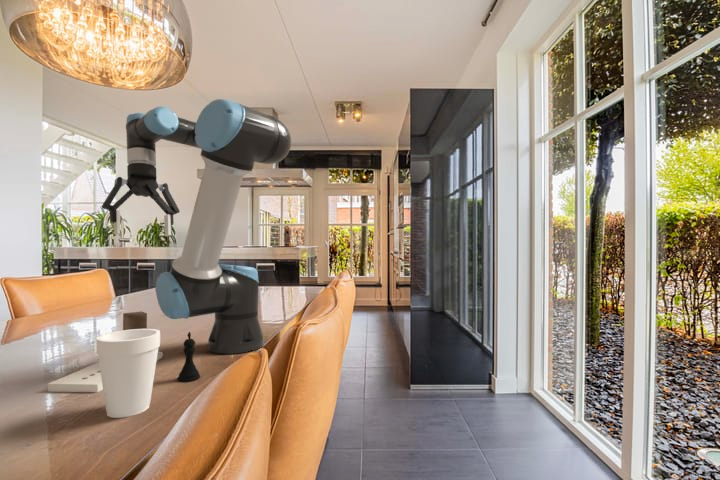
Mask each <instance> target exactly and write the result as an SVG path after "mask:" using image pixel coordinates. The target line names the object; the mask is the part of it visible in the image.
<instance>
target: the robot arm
mask: <svg viewBox="0 0 720 480" xmlns="http://www.w3.org/2000/svg"><path fill="white" fill-rule="evenodd" d="M125 123H126V124H125V131H126V133H125V134H126V156H127V157H126V158H127V159H126V160H127V161H126V162H127V164H128V165H127V166H126V167H127V171H126V172H127V179H124V178H123V177H121V176H118V177H117V178H115V179H114V185H113V188H112V189H111V191H110V192H109V193H108V196H107V197H106V199H105V200H104V202H103V203H102V204H101V208H102V209H103V210H107V211H108V212H109V221H110V223H113V235H117V236H119V235H120V234H121V210H117V209H118V208H119V207H121V206H122V205H123V204H124V203H125V202H126V201H127V200H128V199H129V198H130V197H132V195H135V196H136V197H137V196H138V197H144V198H147V197H150V198H151V199H152V200H153V201H154V202H155V203H156V204H157V205H158V206H159V208H160V209H161V210H162V211H163V212H164V213H165V215H164V217H163V219H164V220H163V222H164V225H163V226H164V236H165V237H170V236H172V226H173V225H174V224H175V223H174V215H177V214H179V213H180V209H179V207H178V205H177V204H176V201H175V200H174V197H173V196H172V194H171V192H170V190H169V185H168V183H167V182H165V183H158V182H157V167H156V166H157V155H156V153H157V151H156V143H158V142H159V141H161V140H164V141H167V142H168V141H169V142H172V143H177V144H181V145H184V146H185V145H186V146H190V147H194V148H197V149H200V150H201V151H200V157H201V159H202V161H203V162H204V164H205V165H204V169H203V172H202V176H201V180H200V185H199V187H198V192H197V195H196V199H195V203H194V207H193V210H192V215H191V218H190V222H189V225H188V230H187V232H186V233H187V234H186V237H185V241H184V244H183V248H182V253H181V256H179V257H178V258H175V259H174V260H173V261H172V263H171V267H170V271H164V272H161V273H160V274H159V275H158V277H157V279H156V283H155V294H156V295H155V296H156V300H157V302H158V303H157V304H158V306H159V308H160V311H162V313H163V314H164V316H165V317H167V318H169V319H170V320H179V319H185V320H186V319H188V318H189V319H190V318H193V317H200V316H206V315H210V314H211V315H212V314H214V321H213V325H212V328H211V331H210V334H209V337H208V340H207V351H208V352H210V353H213V354H214V353H215V354H224V355H225V354H226V355H227V354H228V355H231V354H240V353H247V352H248V351H249V352H253V351H256V350H258V349H261V348H262V347H263V346H264V343H265V336H264V333H263V330H262V326H261V323H260V321H259V310H258V309H259V284H260V281H259V273H258V270H257V269H256V268H255V267H252V266H246V265H245V266H244V265H233V264H223V263H221V264H219V261H220V258H221V254H222V251H223V248H224V244H225V240H226V237H227V234H228V231H229V226H230V224H231V220H232V217H233V213H234V209H235V206H236V203H237V199H238V197H239V193H240V189H241V185H242V182H243V179H244V176H246V175H248V174H249V173H252V172H253V169H254V165H255V163H258V164H263V165H266V164H267V165H271V164H272V165H274V164H276V163H280V162H282V161H283V160H284V159H285V158H286V157H287V156H288V155H289V152H290V150H291V145H292V137H291V133H290V132H289V129H288V128H287V126H286V125H285V124H284V123H283V122H282V121H281V120H280V119H278V118H277V117H275V116H272V115H269V114H267V113H263V112H260V111H258V110H256V109H254V108H250V107H248V106H245V105H243V104H240V102H235V101H232V100H229V99H224V98H219V99H214V100H211V102H209V103H208V104H207V105H205V106H204V108H203V109H202V110H201V111H200V114H199V116H198V118H197V119H196V121H191V120H188V119H185V118H183V117H179V116H177V114H176V113H175V112H174V111H172V110H171V109H170V108H168V107H166V106H162V105H161V106H156V107H154V108H152V109H149V110H148V111H147V112H146V113H142V112H134V113H130V114H128V115H127V116H126V122H125ZM125 185H126V186H127V188H129V190H128V191H127V192H125V194H124V195H122V196H121V197H120V198H119V199H117V201H116V202H115V203H114V204H112V203H113V202H114V201H113V200H114V199H115V198H116V196H117V194H118V192H119V191H120V189H121V187H123V186H125ZM157 189H158V190H159V191H160V192H161V194H162V196H163V198H162V197H161V195H160V193H159V192H158V191H157ZM251 350H252V351H251Z"/></svg>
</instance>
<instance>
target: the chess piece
mask: <svg viewBox="0 0 720 480" xmlns="http://www.w3.org/2000/svg"><path fill="white" fill-rule="evenodd" d="M191 334H192V333H191V332H190V331H189V332H188V333H187V337H188V338H187V339H185V340H184V342H183V343H182V344H183V346H184V347H183V348H184V349H183V350H182V351H183V353H184V356H185V361H184V365H183V366H182V369H181V371H180V372H179V374H178V377H177V382H179V383H190V382H194V381H197V380H199V379H200V378H201V374H200V371H199V370H198V369H197V367H196V365H195V362H194V361H193V360H194V359H193V358H194V353H195V351H196V348H195V345H196V341H195V340H194V339H193V338H191Z"/></svg>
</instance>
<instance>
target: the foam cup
mask: <svg viewBox="0 0 720 480" xmlns="http://www.w3.org/2000/svg"><path fill="white" fill-rule="evenodd" d="M160 346H161V330H159V329H155V328H147V329H131V330H123V329H122V330H118V331H117V330H115V331H113V332H108V333H104V334H102V335H99V336H98V337H97V338H96V353H95V354H96V355H97V356H98V362H99V364H100V371H101V378H102V385H103V390H102V391H103V398H104V404H105V405H104V406H105V412H106V416H108V417H109V418H112V419H113V418H114V419H121V418H122V419H123V418H130V417H132V416H133V417H134V416H136V415H139V414H142V413H143V412H146V411H147V410H148V409H149V408H150V404H151V401H152V393H153V386H154V380H155V373H156V367H157V362H158V360H157V354H158V352H159V347H160Z"/></svg>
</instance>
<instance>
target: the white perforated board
mask: <svg viewBox="0 0 720 480" xmlns="http://www.w3.org/2000/svg"><path fill="white" fill-rule="evenodd" d="M163 356H164V355H163V351H158V354H157V361H159V360H161V359H163ZM101 391H103V385H102V378H101V371H100V364H99V361H97V362H96V363H93V364H91V365H89V366H86V367H84V368H82V369H80V370H78V371H75V372H72V373H70V374H67V375H66V376H63V377H61V378H58V379H55V380H53V381H51V382H49V383H47V392H52V393H53V392H54V393H55V392H56V393H57V392H58V393H63V392H64V393H99V392H101Z"/></svg>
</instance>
